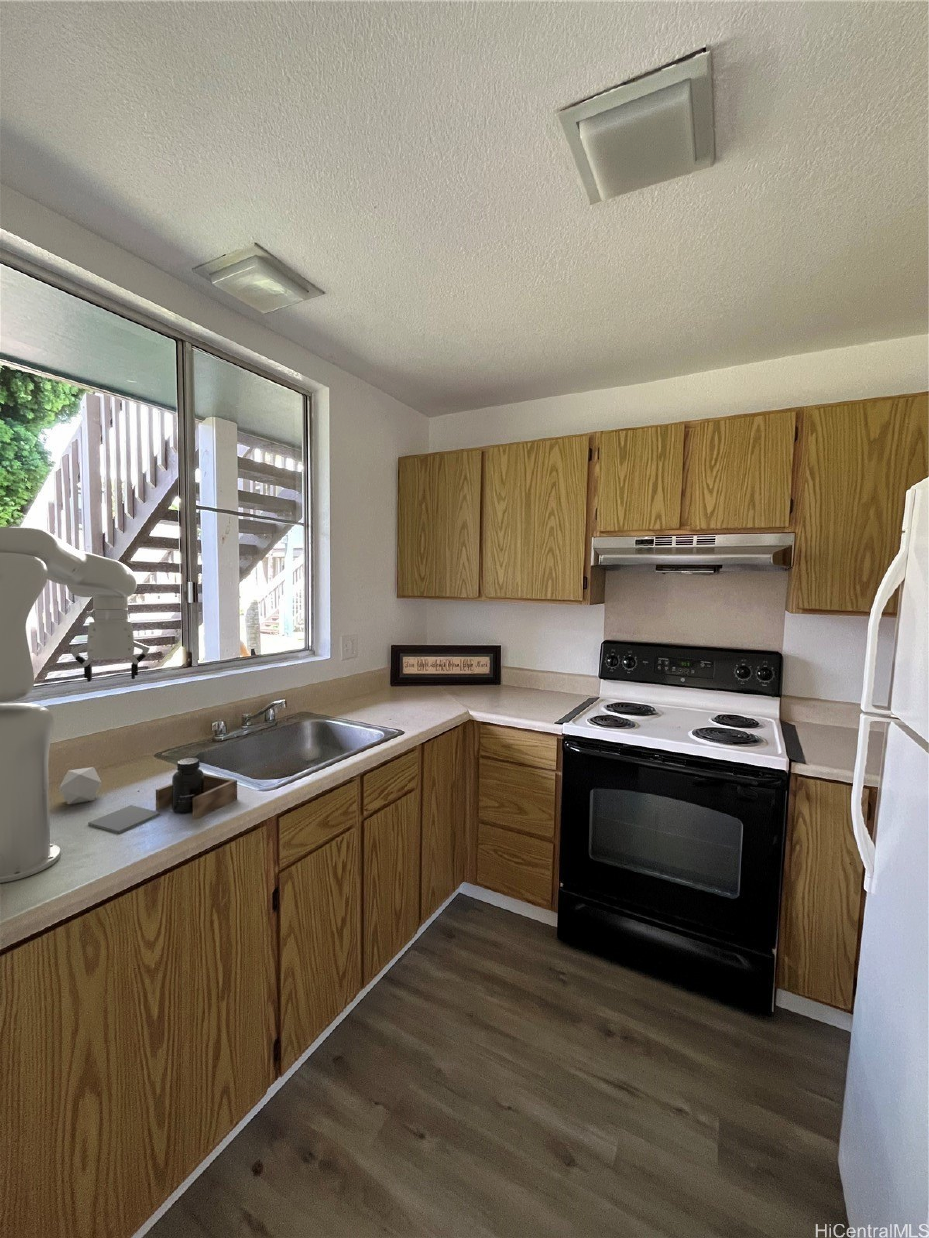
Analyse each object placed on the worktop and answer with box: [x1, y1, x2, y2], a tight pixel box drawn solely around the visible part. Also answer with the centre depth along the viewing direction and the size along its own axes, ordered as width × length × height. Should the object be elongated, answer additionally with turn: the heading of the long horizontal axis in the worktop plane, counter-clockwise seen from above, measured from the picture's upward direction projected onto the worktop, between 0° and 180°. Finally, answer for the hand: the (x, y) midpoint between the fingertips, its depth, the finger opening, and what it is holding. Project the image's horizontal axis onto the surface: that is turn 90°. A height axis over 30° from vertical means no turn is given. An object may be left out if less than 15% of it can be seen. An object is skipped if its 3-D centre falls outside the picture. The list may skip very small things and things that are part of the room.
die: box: [58, 766, 103, 805], centre depth 126 cm, size 8×9×10 cm
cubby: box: [155, 773, 238, 820], centre depth 126 cm, size 12×13×5 cm
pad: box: [87, 805, 162, 834], centre depth 117 cm, size 10×10×1 cm
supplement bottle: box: [171, 757, 205, 815], centre depth 123 cm, size 7×7×12 cm
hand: (111, 679), depth 135 cm, fingers open, 9 cm apart
